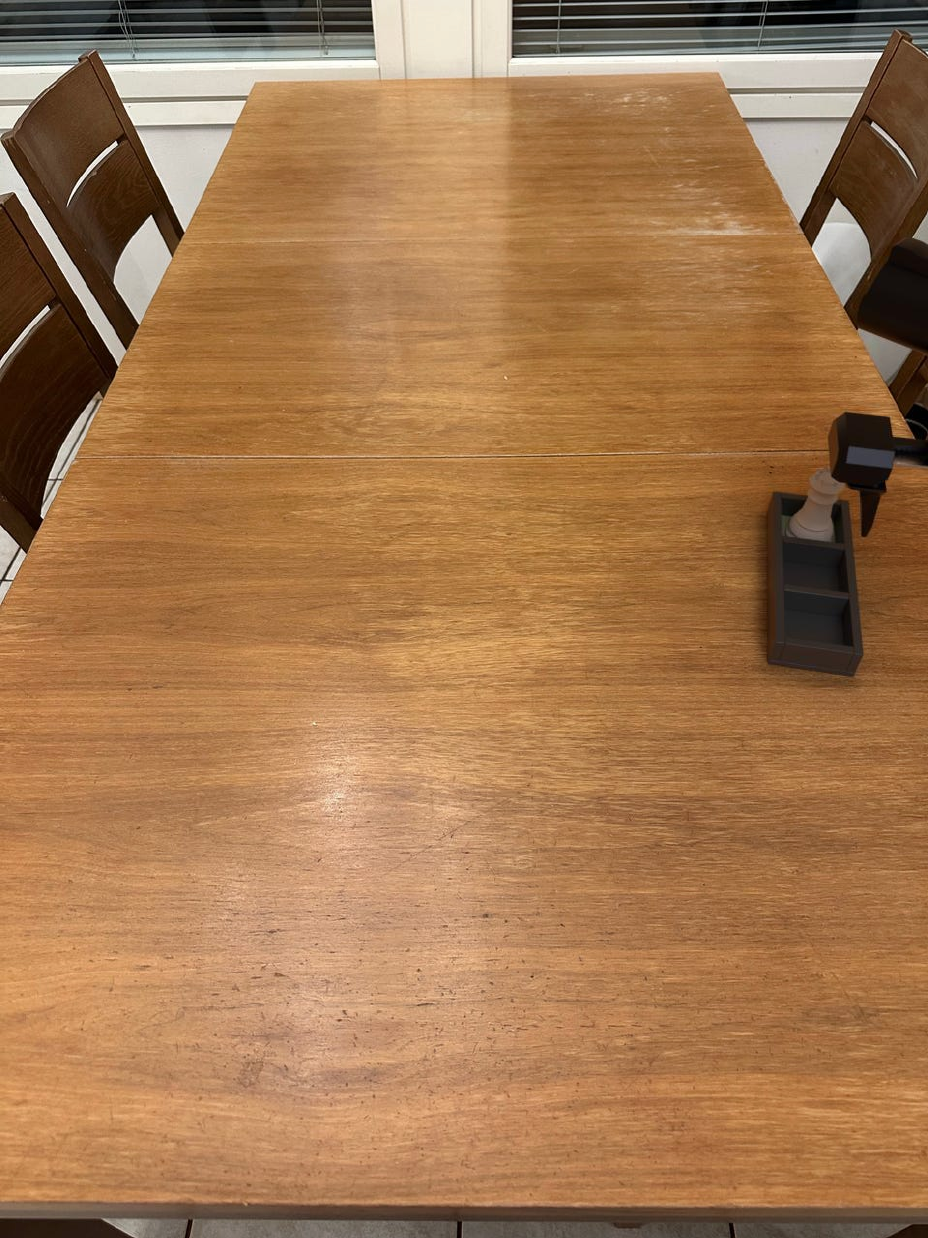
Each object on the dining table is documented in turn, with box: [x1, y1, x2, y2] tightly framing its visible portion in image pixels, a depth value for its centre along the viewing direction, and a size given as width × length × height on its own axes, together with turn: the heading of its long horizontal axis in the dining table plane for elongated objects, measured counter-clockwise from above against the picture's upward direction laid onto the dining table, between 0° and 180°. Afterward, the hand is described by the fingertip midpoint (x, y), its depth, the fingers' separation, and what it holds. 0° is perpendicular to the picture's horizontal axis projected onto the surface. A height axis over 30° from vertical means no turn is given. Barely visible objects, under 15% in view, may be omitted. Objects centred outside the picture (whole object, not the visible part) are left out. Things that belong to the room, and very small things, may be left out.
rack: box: [765, 490, 865, 678], centre depth 90 cm, size 7×21×3 cm, turn 169°
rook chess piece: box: [786, 466, 846, 542], centre depth 92 cm, size 4×4×8 cm
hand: (921, 541), depth 78 cm, fingers open, 9 cm apart
